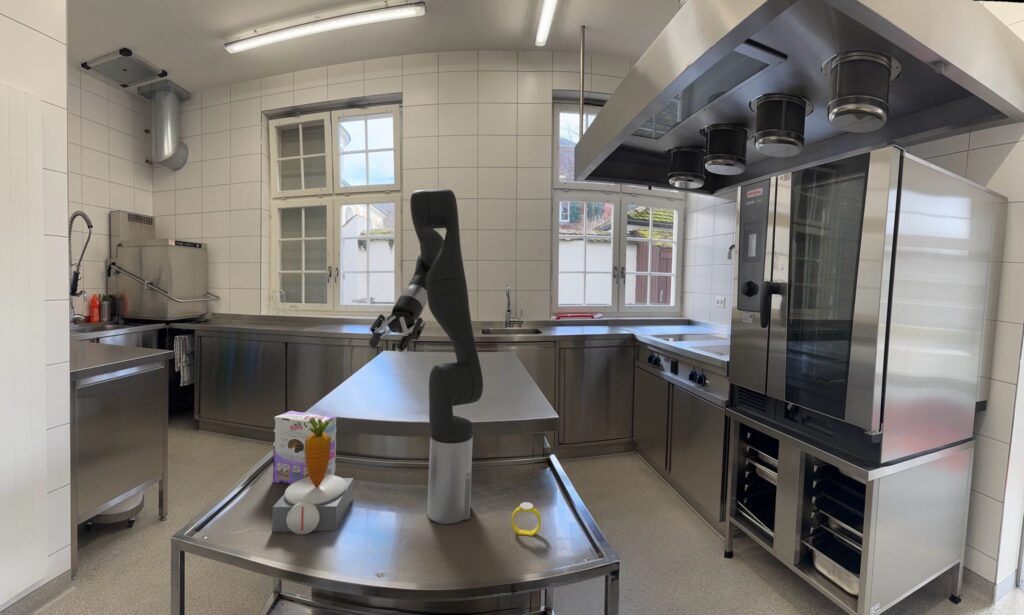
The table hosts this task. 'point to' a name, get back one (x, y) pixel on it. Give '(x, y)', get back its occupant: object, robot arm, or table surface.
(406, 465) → the table surface
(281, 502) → the scale base
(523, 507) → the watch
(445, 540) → the table surface
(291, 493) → the scale pan
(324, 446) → the carrot
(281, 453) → the candy box
